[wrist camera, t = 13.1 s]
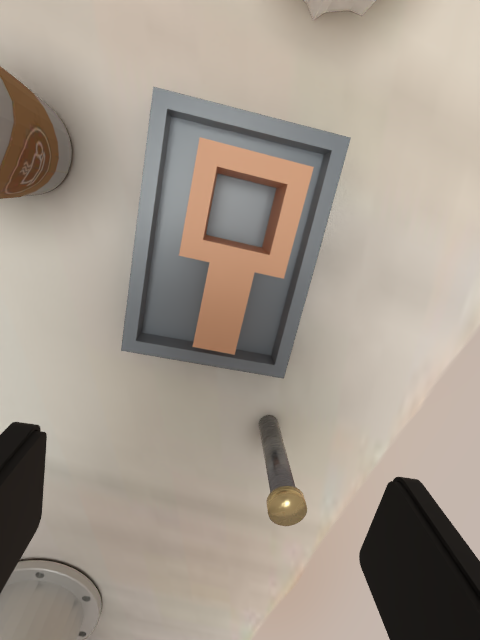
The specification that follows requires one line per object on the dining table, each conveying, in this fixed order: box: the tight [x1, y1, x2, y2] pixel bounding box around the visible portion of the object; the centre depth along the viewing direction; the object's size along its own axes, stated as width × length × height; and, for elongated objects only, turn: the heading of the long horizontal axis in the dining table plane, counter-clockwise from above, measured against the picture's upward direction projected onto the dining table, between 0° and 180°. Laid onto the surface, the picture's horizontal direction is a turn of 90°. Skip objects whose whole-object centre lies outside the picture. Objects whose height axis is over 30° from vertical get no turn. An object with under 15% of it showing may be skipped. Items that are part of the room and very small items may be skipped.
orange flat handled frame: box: [179, 137, 314, 355], centre depth 25 cm, size 7×13×4 cm, turn 167°
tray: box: [121, 87, 350, 378], centre depth 26 cm, size 18×13×2 cm
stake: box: [259, 415, 307, 526], centre depth 28 cm, size 3×3×10 cm
